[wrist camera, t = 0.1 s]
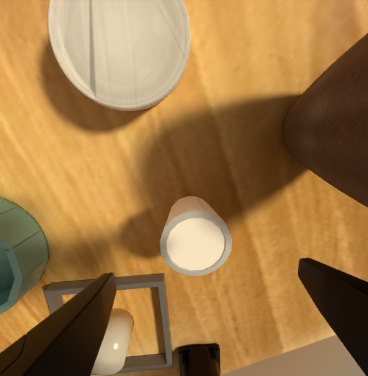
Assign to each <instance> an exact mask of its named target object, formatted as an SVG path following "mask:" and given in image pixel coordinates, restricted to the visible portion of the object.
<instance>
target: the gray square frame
mask: <svg viewBox="0 0 368 376" xmlns="http://www.w3.org/2000/svg"><path fill="white" fill-rule="evenodd" d="M95 280H96V279H90V280H78V281H66V282H54V283H51V284H50V285H49V286H48V287H47V288H46V290H45V291H44V293H45V296H46V300H47V303H48V306H49V310H50V313H51V314H52V313H53V312H55V311H56V310H57V309H59V308H60V307H61V306H62V305H64V304H63V301H62V297H61V295H67V294H78V293H79V292H81V291H82V290H83V289H84V288H86V287H87V286H88V285H90V284H91V283H92V282H94V281H95ZM115 282H116V290H126V289H137V288H149V287H158V291H159V299H160V308H161V316H162V325H163V333H164V342H165V350H166V353H165V354H154V355H144V356H133V357H126V358H125V363H124V366H123V367H122V369H121V370H120V371H118V372H117V373H122V372H133V371H143V370H154V369H164V368H173V351H172V342H171V332H170V323H169V314H168V304H167V295H166V285H165V276H164V273H162V274H150V275H138V276H126V277H115ZM91 375H98V374H95V373H93V372H91Z"/></svg>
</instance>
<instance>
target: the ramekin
mask: <svg viewBox="0 0 368 376" xmlns="http://www.w3.org/2000/svg"><path fill="white" fill-rule="evenodd" d="M48 33H49V38H50V42H51V47H52V50H53V53H54V55H55V58H56V60H57V62H58V64H59V66H60V68H61V69H62V71H63V72H64V74H65V75H66V77H67V78H68V80H69V81H70V82H71V83H72V84H73V85H74V86H75V87H76V88H77V89H78V90H79V91H80V92H81V93H82V94H84V95H85V96H86V97H88V98H89V99H91V100H93V101H94V102H96V103H98V104H100V105H102V106H105V107H107V108H111V109H114V110H120V111H137V110H143V109H148V108H150V107H153V106H155V105H156V104H159V103H160V102H161V101H163V100H164V99H165V98H166V97H167V96H168V95H169V94H170V93H171V92H172V91H173V90H174V89H175V87H176V86H177V85H178V83H179V82H180V80H181V78H182V76H183V74H184V72H185V69H186V66H187V63H188V58H189V53H190V44H191V31H190V23H189V17H188V13H187V10H186V7H185V4H184V1H183V0H50V2H49V7H48Z"/></svg>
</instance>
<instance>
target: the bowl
mask: <svg viewBox="0 0 368 376" xmlns="http://www.w3.org/2000/svg"><path fill="white" fill-rule="evenodd" d="M48 258H49V248H48V243H47V240H46V237H45V234H44V232H43V230H42V229H41V227H40V226H39V224H38V223H37V222H36V220H35V219H34V218H33V217H32V216H31V215H30V214H29V213H28V212H27V211H25V210H24V209H23V208H21V207H20V206H18V205H17V204H15V203H13V202H11V201H9V200H7V199H4V198H1V197H0V314H2V313H3V312H5V311H6V310H8V309H9V308H11V307H12V306H14V305H15V304H16V303H17V302H18V301H19V300H20V299H21V298H22V297H23V296H24V295H25V294H26V293H27V292H28V291H29V290H30V289H31V288H32V287H33V286H34V285H35V284H36V283H37V282H38V281H39V280H40V277H41V275H42V274H43V272H44V271H45V268H46V266H47V263H48Z"/></svg>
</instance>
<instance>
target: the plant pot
mask: <svg viewBox="0 0 368 376" xmlns="http://www.w3.org/2000/svg"><path fill="white" fill-rule="evenodd" d="M283 139H284V142H285V145H286V147H287V148H288V150H289V151H290V152H291V153H292V154H293V155H294V156H295V157H296V158H297V159H298V160H299V161H300V162H301V163H302V164H303V165H305V166H306V167H307V168H308V169H309V170H311V171H312V172H313V173H315V174H316V175H318V176H319V177H320V178H322V179H323V180H325V181H326V182H327V183H329V184H330V185H332V186H334V187H335V188H337V189H338V190H340V191H341V192H343V193H345V194H346V195H348V196H349V197H351V198H353V199H354V200H356V201H358V202H359V203H361V204H363V205H364V206H366V207H368V33H367V34H366V35H365V36H364V37H363V38H361V39H360V40H359V41H358V42H357V43H356V44H355V45H353V46H352V47H351V48H350V49H349V50H348V51H346V52H345V53H344V54H343V55H342V56H341V57H340V58H338V59H337V60H336V61H335V62H334V63H333V64H332V65H331V66H330V67H329V68H328V69H327V70H326V71H325V72H324V73H323V74H322V75H320V76H319V77H318V78H317V79H316V80H315V81H314V82H313V83H312V84H311V86H310V87H309V88H308V89H307V90H306V91H305V92H304V93H303V94H302V95H301V96H300V98H299V99H298V100H297V101H296V102H295V104H294V105H293V106H292V107H291V109H290V110H289V112H288V113H287V115H286V118H285V120H284V124H283Z"/></svg>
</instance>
